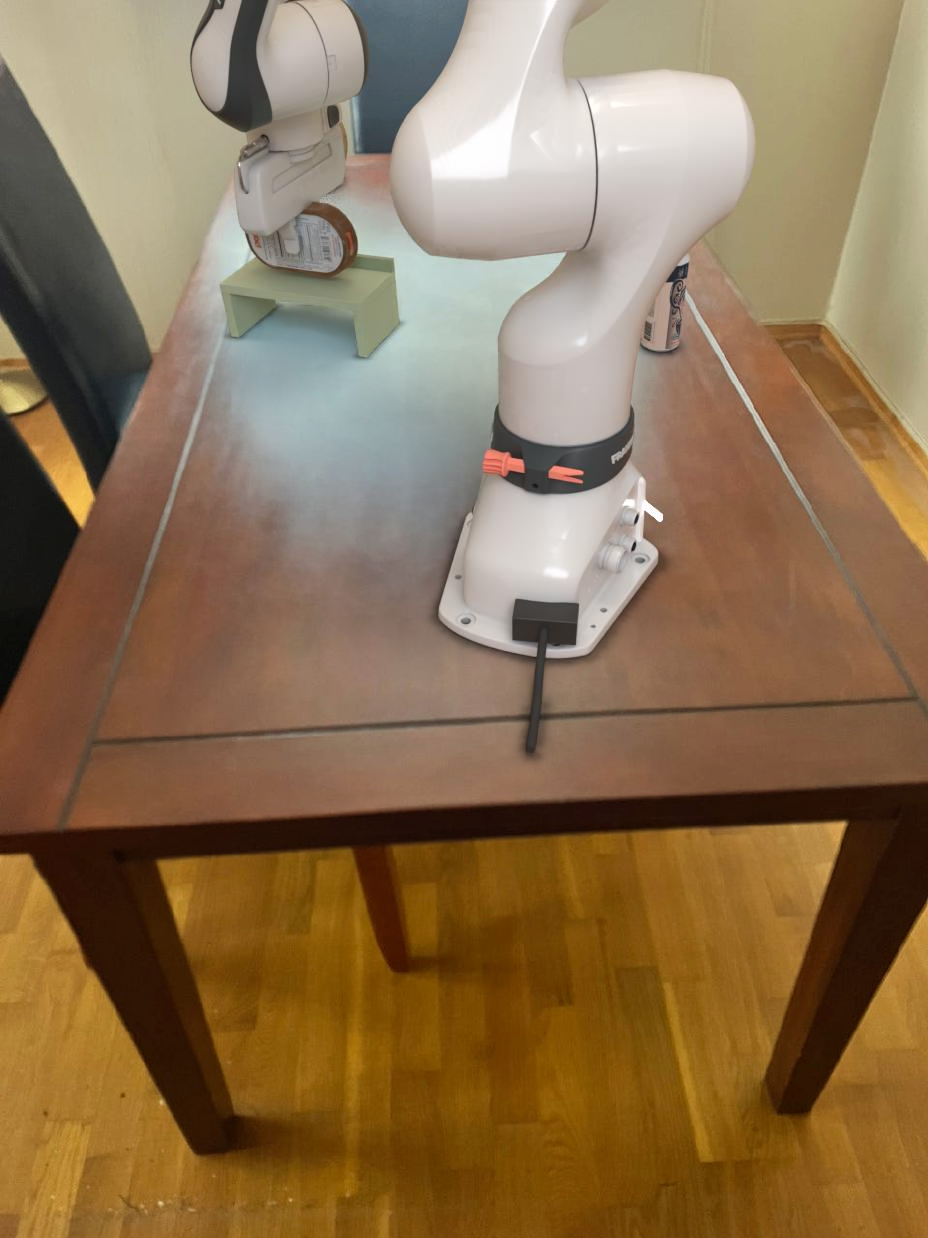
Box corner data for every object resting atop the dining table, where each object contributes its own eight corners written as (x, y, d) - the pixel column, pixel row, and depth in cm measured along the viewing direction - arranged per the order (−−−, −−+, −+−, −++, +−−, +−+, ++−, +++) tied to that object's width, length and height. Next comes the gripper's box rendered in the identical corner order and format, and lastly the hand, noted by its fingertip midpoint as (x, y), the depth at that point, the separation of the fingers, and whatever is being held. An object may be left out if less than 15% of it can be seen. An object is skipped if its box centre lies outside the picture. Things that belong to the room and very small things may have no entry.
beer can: (678, 355, 114) (690, 258, 106) (639, 353, 115) (648, 256, 106) (679, 337, 117) (691, 241, 109) (641, 335, 118) (650, 240, 110)
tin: (362, 274, 116) (355, 203, 110) (350, 283, 114) (342, 211, 108) (260, 260, 121) (249, 191, 115) (246, 268, 118) (234, 198, 113)
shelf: (366, 357, 117) (358, 289, 111) (231, 336, 122) (216, 270, 116) (399, 323, 123) (393, 257, 117) (269, 304, 129) (257, 241, 123)
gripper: (260, 153, 98) (283, 282, 107) (348, 101, 112) (361, 219, 121) (209, 149, 100) (236, 275, 109) (302, 98, 113) (318, 214, 123)
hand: (302, 245), depth 115 cm, fingers closed on tin, 2 cm apart
